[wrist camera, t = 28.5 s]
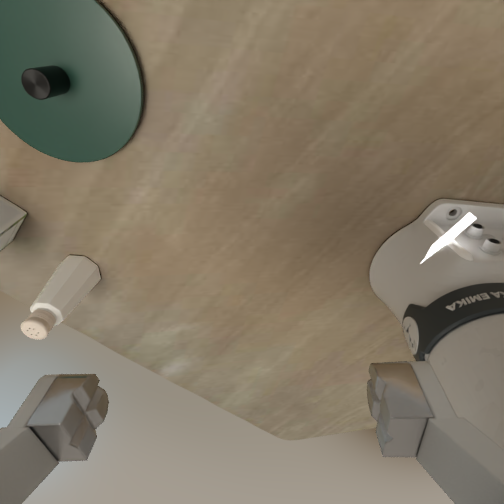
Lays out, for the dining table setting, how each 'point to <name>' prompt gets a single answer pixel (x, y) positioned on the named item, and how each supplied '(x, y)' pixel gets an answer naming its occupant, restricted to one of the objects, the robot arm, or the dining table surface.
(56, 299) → the salt shaker
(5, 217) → the syrup box
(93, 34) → the lid
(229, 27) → the dining table surface
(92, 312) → the dining table surface
